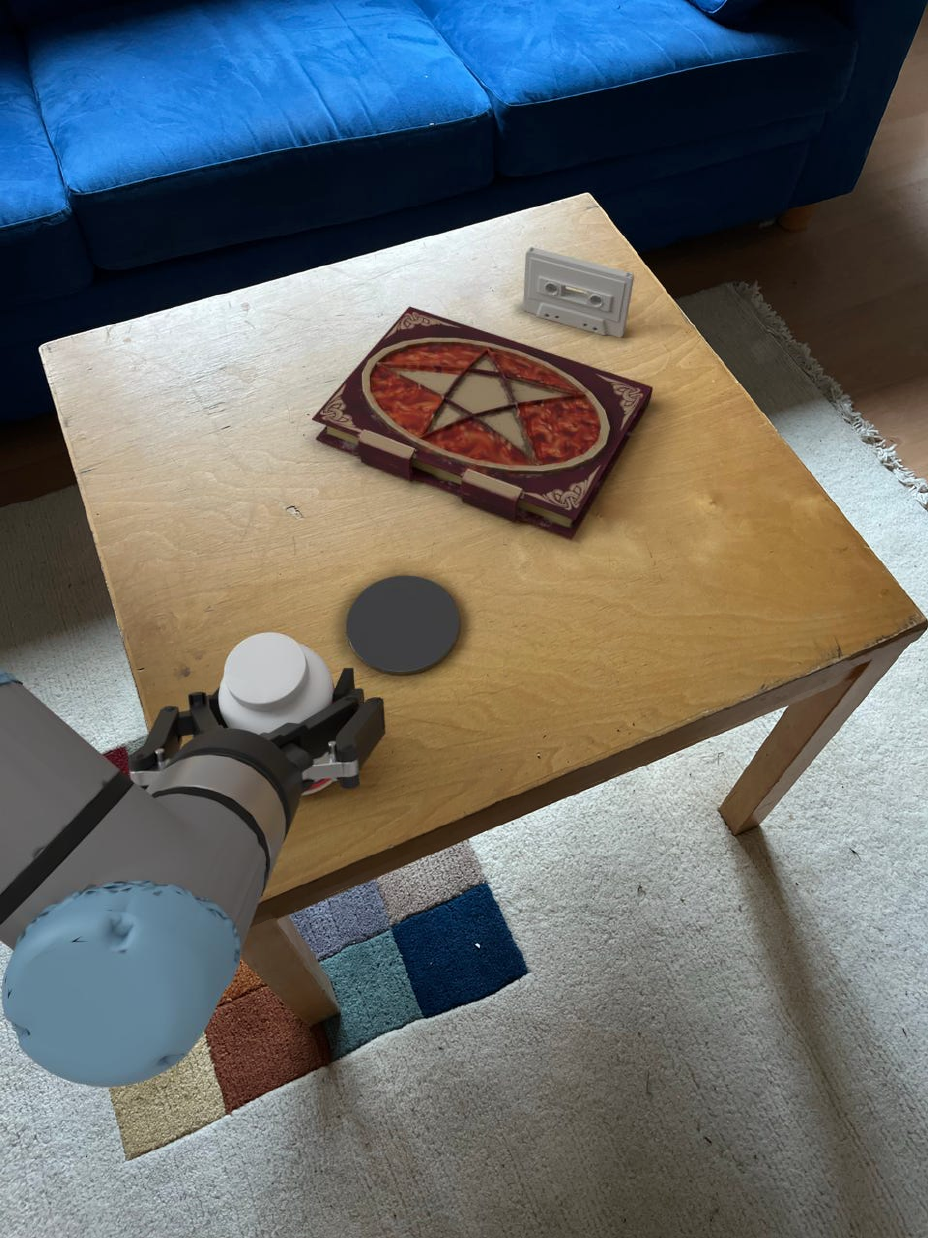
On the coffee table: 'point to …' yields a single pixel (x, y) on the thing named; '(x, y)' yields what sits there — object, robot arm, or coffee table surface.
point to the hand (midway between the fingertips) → (293, 686)
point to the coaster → (402, 625)
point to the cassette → (587, 311)
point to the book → (485, 419)
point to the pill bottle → (274, 686)
